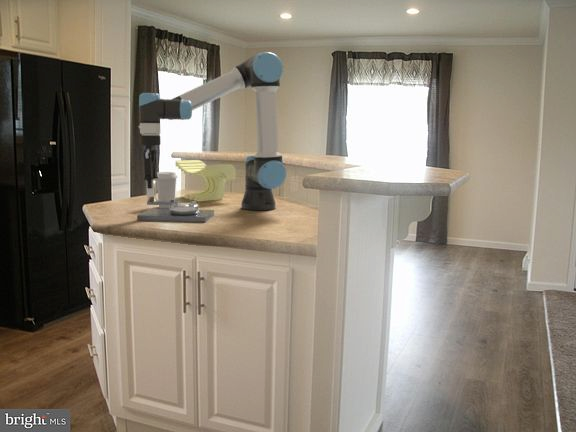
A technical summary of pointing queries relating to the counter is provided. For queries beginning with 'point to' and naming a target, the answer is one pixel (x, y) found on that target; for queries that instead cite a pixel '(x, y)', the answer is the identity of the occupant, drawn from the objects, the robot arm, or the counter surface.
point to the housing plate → (174, 216)
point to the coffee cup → (166, 187)
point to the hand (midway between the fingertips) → (151, 195)
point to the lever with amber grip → (176, 206)
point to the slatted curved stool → (208, 178)
